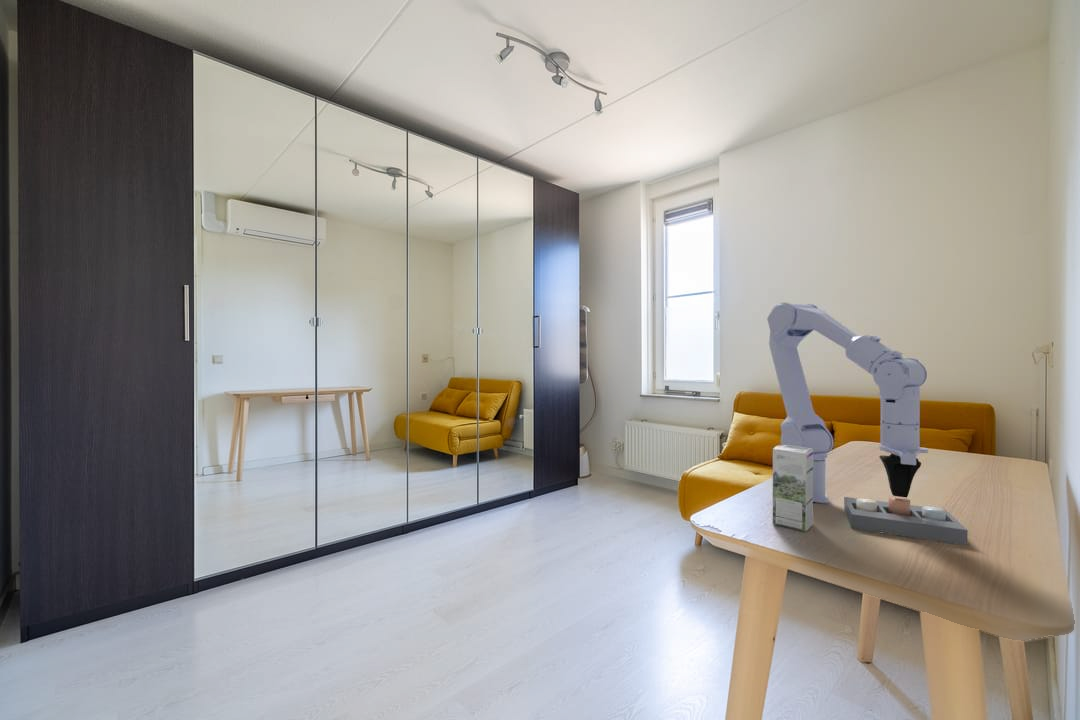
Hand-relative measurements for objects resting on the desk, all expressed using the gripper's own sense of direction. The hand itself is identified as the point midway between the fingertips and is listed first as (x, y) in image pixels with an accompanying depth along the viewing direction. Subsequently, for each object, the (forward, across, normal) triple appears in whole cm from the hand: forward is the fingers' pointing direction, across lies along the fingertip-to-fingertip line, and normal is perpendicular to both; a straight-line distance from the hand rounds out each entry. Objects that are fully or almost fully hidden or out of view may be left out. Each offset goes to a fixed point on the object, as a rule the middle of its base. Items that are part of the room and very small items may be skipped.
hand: (899, 495), depth 85 cm
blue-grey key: (+4, 0, -5) cm, 7 cm away
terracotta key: (+3, 0, 0) cm, 3 cm away
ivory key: (+4, 0, +5) cm, 7 cm away
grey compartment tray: (+6, 0, 0) cm, 6 cm away
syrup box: (+6, -9, +18) cm, 21 cm away
